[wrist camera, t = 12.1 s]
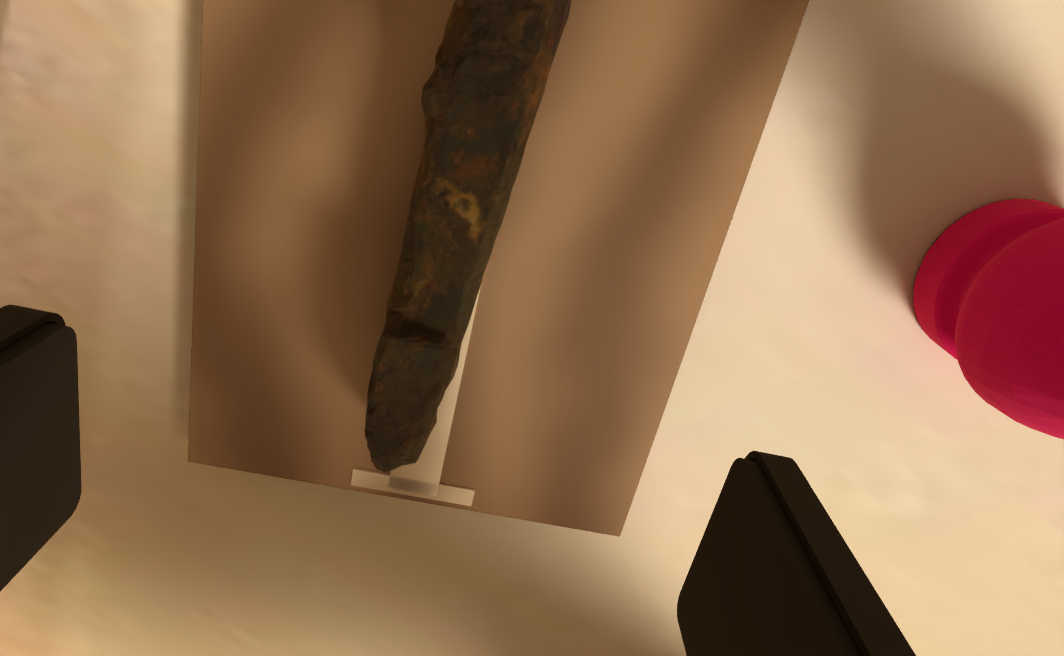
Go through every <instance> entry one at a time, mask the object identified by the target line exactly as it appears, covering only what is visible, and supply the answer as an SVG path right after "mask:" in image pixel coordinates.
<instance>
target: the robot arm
mask: <svg viewBox="0 0 1064 656" xmlns="http://www.w3.org/2000/svg"><path fill="white" fill-rule="evenodd" d="M80 495H81V461H80V430H79V398H78V366H77V339H76V334H75V332H74V330H73V329H72V328H71V327H67V326H66V325H65V322H64V320H63V318H62V317H61V316H60V315H59V314H56V313H51V312H46V311H41V310H36V309H31V308H26V307H21V306H15V305H7V306H4V307H2V308H0V591H1V590H2V589H3V588H4V587H5V586H6V585H7V584H8V583H9V582H10V581H11V579H12V578H13V577H14V576H15V575H16V574H17V573H18V572H19V571H20V570H21V569H22V568H23V567H24V566H25V565H26V564H27V562H28V561H29V560H30V559H31V558H32V557H33V556H34V555H35V554H36V553H37V552H38V551H39V550H40V549H41V548H42V547H43V545H44V544H45V543H46V542H47V541H48V540H49V539H50V538H51V537H52V536H53V535H54V534H55V533H56V532H57V531H58V530H59V528H60V527H61V526H62V525H63V524H64V523H65V522H66V521H67V520H68V519H69V518H70V516H71V515H72V514H73V512H74V511H75V509H76V507H77V505H78V502H79V499H80ZM677 618H678V623H679V627H680V631H681V635H682V639H683V643H684V647H685V651H686V655H687V656H916V655H915V653H914V652H913V650H912V649H911V647H910V645H909V644H908V642H907V640H906V639H905V637H904V636H903V634H902V632H901V631H900V629H899V628H898V626H897V624H896V623H895V621H894V620H893V618H892V616H891V615H890V613H889V612H888V610H887V608H886V607H885V605H884V604H883V602H882V600H881V599H880V597H879V595H878V594H877V592H876V591H875V589H874V587H873V586H872V584H871V583H870V581H869V579H868V578H867V576H866V575H865V573H864V571H863V570H862V568H861V567H860V565H859V563H858V562H857V560H856V559H855V557H854V555H853V554H852V552H851V550H850V549H849V547H848V546H847V544H846V542H845V541H844V539H843V538H842V536H841V534H840V533H839V531H838V530H837V528H836V526H835V525H834V523H833V522H832V520H831V518H830V517H829V515H828V514H827V512H826V510H825V509H824V507H823V505H822V504H821V502H820V501H819V499H818V497H817V496H816V494H815V493H814V491H813V489H812V488H811V486H810V485H809V483H808V481H807V480H806V478H805V477H804V475H803V473H802V472H801V470H800V469H799V467H798V465H797V464H796V462H795V461H794V460H793V459H792V458H788V457H783V456H778V455H773V454H768V453H763V452H758V451H752V452H750V453H749V454H748V455H747V456H746V458H745V459H743V458H738V459H736V460H735V461H734V462H733V464H732V466H731V468H730V471H729V473H728V476H727V478H726V481H725V483H724V486H723V488H722V491H721V493H720V496H719V498H718V501H717V503H716V505H715V508H714V510H713V513H712V515H711V518H710V520H709V523H708V525H707V528H706V530H705V533H704V535H703V538H702V540H701V542H700V545H699V547H698V550H697V552H696V555H695V557H694V560H693V562H692V565H691V567H690V570H689V572H688V575H687V577H686V580H685V582H684V584H683V587H682V589H681V592H680V595H679V598H678V604H677Z"/></svg>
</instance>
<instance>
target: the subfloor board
mask: <svg viewBox="0 0 1064 656" xmlns="http://www.w3.org/2000/svg"><path fill="white" fill-rule="evenodd" d="M455 2H456V0H203V19H202V49H201V80H200V110H199V141H198V171H197V202H196V232H195V263H194V293H193V324H192V354H191V385H190V415H189V446H188V461H189V462H195V463H200V464H206V465H212V466H218V467H223V468H229V469H235V470H241V471H246V472H252V473H258V474H264V475H269V476H275V477H281V478H287V479H292V480H298V481H304V482H310V483H315V484H321V485H327V486H333V487H338V488H344V489H350V490H356V491H361V492H367V493H373V494H379V495H384V496H390V497H396V498H401V499H407V500H413V501H419V502H424V503H430V504H436V505H442V506H447V507H453V508H459V509H465V510H470V511H476V512H482V513H488V514H493V515H499V516H505V517H511V518H516V519H522V520H528V521H534V522H539V523H545V524H551V525H557V526H562V527H568V528H574V529H580V530H585V531H591V532H597V533H602V534H608V535H614V536H620V534H621V531H622V528H623V526H624V523H625V520H626V517H627V514H628V511H629V509H630V506H631V503H632V500H633V497H634V494H635V492H636V489H637V486H638V483H639V480H640V478H641V475H642V472H643V469H644V466H645V463H646V461H647V458H648V455H649V452H650V449H651V446H652V444H653V441H654V438H655V435H656V432H657V429H658V427H659V424H660V421H661V418H662V415H663V412H664V410H665V407H666V404H667V401H668V398H669V395H670V393H671V390H672V387H673V384H674V381H675V378H676V376H677V373H678V370H679V367H680V364H681V361H682V359H683V356H684V353H685V350H686V347H687V344H688V342H689V339H690V336H691V333H692V330H693V327H694V325H695V322H696V319H697V316H698V313H699V310H700V308H701V305H702V302H703V299H704V296H705V294H706V291H707V288H708V285H709V282H710V279H711V277H712V274H713V271H714V268H715V265H716V262H717V260H718V257H719V254H720V251H721V248H722V245H723V243H724V240H725V237H726V234H727V231H728V228H729V226H730V223H731V220H732V217H733V214H734V211H735V209H736V206H737V203H738V200H739V197H740V194H741V192H742V189H743V186H744V183H745V180H746V177H747V175H748V172H749V169H750V166H751V163H752V160H753V158H754V155H755V152H756V149H757V146H758V143H759V141H760V138H761V135H762V132H763V129H764V127H765V124H766V121H767V118H768V115H769V112H770V110H771V107H772V104H773V101H774V98H775V95H776V93H777V90H778V87H779V84H780V81H781V78H782V76H783V73H784V70H785V67H786V64H787V61H788V59H789V56H790V53H791V50H792V47H793V44H794V42H795V39H796V36H797V33H798V30H799V27H800V25H801V22H802V19H803V16H804V13H805V10H806V8H807V5H808V2H809V0H571V6H570V11H569V17H568V20H567V23H566V25H565V28H564V31H563V33H562V36H561V39H560V42H559V45H558V48H557V52H556V55H555V58H554V60H553V63H552V65H551V69H550V72H549V75H548V79H547V83H546V87H545V91H544V94H543V97H542V100H541V102H540V105H539V108H538V111H537V114H536V117H535V120H534V123H533V126H532V129H531V132H530V135H529V138H528V140H527V143H526V147H525V151H524V155H523V159H522V162H521V165H520V169H519V172H518V175H517V178H516V180H515V183H514V185H513V188H512V192H511V196H510V199H509V203H508V206H507V209H506V212H505V215H504V219H503V221H502V224H501V227H500V230H499V232H498V235H497V237H496V240H495V244H494V247H493V250H492V253H491V256H490V259H489V261H488V264H487V266H486V269H485V272H484V275H483V278H482V283H481V286H480V289H479V292H478V295H477V298H476V301H475V305H474V308H473V312H472V315H471V318H470V321H469V324H468V327H467V330H466V332H465V335H464V338H463V341H462V344H461V349H460V356H459V363H458V366H457V369H456V372H455V375H454V378H453V379H452V381H451V383H450V384H449V386H448V388H447V389H446V391H445V394H444V397H443V399H442V401H441V403H440V405H439V407H438V410H437V423H436V424H435V426H434V428H433V430H432V432H431V433H430V435H429V438H428V440H427V442H426V445H425V447H424V449H423V451H422V453H421V455H420V457H419V458H418V460H417V462H416V463H412V464H408V465H403V466H400V467H398V468H396V469H394V470H391V471H389V472H383V471H381V470H377V469H376V467H375V466H374V464H373V463H372V461H371V457H370V451H369V449H368V448H367V440H366V438H365V420H366V410H367V392H368V386H369V381H370V376H371V372H372V368H373V360H374V356H375V351H376V348H377V345H378V342H379V340H380V337H381V334H382V332H383V329H384V326H385V322H386V314H387V302H388V299H389V295H390V291H391V287H392V284H393V282H394V278H395V274H396V270H397V266H398V262H399V258H400V253H401V248H402V243H403V239H404V234H405V229H406V224H407V219H408V214H409V208H410V202H411V197H412V193H413V189H414V185H415V181H416V177H417V173H418V168H419V165H420V161H421V157H422V152H423V147H424V142H425V115H424V112H423V107H422V102H421V99H422V90H423V86H424V85H425V83H426V82H427V81H428V79H429V78H430V76H431V74H432V73H433V71H434V69H435V57H436V53H437V50H438V47H439V46H440V45H441V43H442V41H443V37H444V32H445V27H446V24H447V21H448V19H449V16H450V13H451V11H452V8H453V4H454V3H455Z"/></svg>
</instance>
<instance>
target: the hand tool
mask: <svg viewBox="0 0 1064 656" xmlns="http://www.w3.org/2000/svg"><path fill="white" fill-rule="evenodd" d="M570 6H571V0H456V2H455V3H454V4H453V8H452V11H451V13H450V16H449V19H448V21H447V24H446V27H445V32H444V37H443V41H442V43H441V45H440V46H439V47H438V50H437V53H436V57H435V69H434V71H433V73H432V74H431V76H430V78H429V79H428V81H427V82H426V83H425V85H424V86H423V90H422V99H421V102H422V107H423V112H424V115H425V142H424V147H423V152H422V157H421V161H420V165H419V168H418V173H417V177H416V181H415V185H414V189H413V193H412V197H411V202H410V208H409V214H408V219H407V224H406V229H405V234H404V239H403V243H402V248H401V253H400V258H399V262H398V266H397V270H396V274H395V278H394V282H393V284H392V287H391V291H390V295H389V299H388V302H387V314H386V322H385V326H384V329H383V332H382V334H381V337H380V340H379V342H378V345H377V348H376V351H375V356H374V360H373V368H372V372H371V376H370V381H369V386H368V392H367V410H366V420H365V438H366V440H367V448H368V449H369V451H370V457H371V461H372V463H373V464H374V466H375V467H376V469H377V470H381V471H383V472H389V471H391V470H394V469H396V468H398V467H400V466H403V465H408V464H412V463H416V462H417V460H418V458H419V457H420V455H421V453H422V451H423V449H424V447H425V445H426V442H427V440H428V438H429V435H430V433H431V432H432V430H433V428H434V426H435V424H436V423H437V410H438V407H439V405H440V403H441V401H442V399H443V397H444V394H445V391H446V389H447V388H448V386H449V384H450V383H451V381H452V379H453V378H454V375H455V372H456V369H457V366H458V363H459V356H460V349H461V344H462V341H463V338H464V335H465V332H466V330H467V327H468V324H469V321H470V318H471V315H472V312H473V308H474V305H475V301H476V298H477V295H478V292H479V289H480V286H481V283H482V278H483V275H484V272H485V269H486V266H487V264H488V261H489V259H490V256H491V253H492V250H493V247H494V244H495V240H496V237H497V235H498V232H499V230H500V227H501V224H502V221H503V219H504V215H505V212H506V209H507V206H508V203H509V199H510V196H511V192H512V188H513V185H514V183H515V180H516V178H517V175H518V172H519V169H520V165H521V162H522V159H523V155H524V151H525V147H526V143H527V140H528V138H529V135H530V132H531V129H532V126H533V123H534V120H535V117H536V114H537V111H538V108H539V105H540V102H541V100H542V97H543V94H544V91H545V87H546V83H547V79H548V75H549V72H550V69H551V65H552V63H553V60H554V58H555V55H556V52H557V48H558V45H559V42H560V39H561V36H562V33H563V31H564V28H565V25H566V23H567V20H568V17H569V11H570Z"/></svg>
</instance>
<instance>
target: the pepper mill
mask: <svg viewBox="0 0 1064 656" xmlns="http://www.w3.org/2000/svg"><path fill="white" fill-rule="evenodd" d="M914 309H915V314H916V316H917V319H918V321H919V323H920V326H921V328H922V329H923V331H924V332H925V333H926V334H927V335H928V336H929V338H930V339H931V340H933V341H934V342H935V343H936V344H938V345H939V346H940V347H941V348H943V349H944V350H945V351H947V352H948V353H949V354H950V355H952V356H953V357H954V358H955V359H957V360H958V363H959V365H960V368H961V370H962V372H963V375H964V377H965V379H966V380H967V381H968V383H969V384H970V386H971V387H972V388H973V390H974V391H975V392H976V393H977V394H978V395H979V396H980V397H981V398H982V399H983V400H984V401H986V402H987V403H988V404H990V405H991V406H993V407H994V408H996V409H998V410H999V411H1001V412H1002V413H1004V414H1005V415H1007V416H1008V417H1010V418H1011V419H1013V420H1014V421H1016V422H1019V423H1021V424H1023V425H1025V426H1027V427H1029V428H1032V429H1035V430H1037V431H1040V432H1043V433H1046V434H1048V435H1051V436H1054V437H1058V438H1061V439H1064V209H1063V208H1060V207H1058V206H1055V205H1052V204H1049V203H1046V202H1042V201H1038V200H1034V199H1011V200H1004V201H998V202H995V203H991V204H988V205H985V206H983V207H980V208H978V209H976V210H974V211H972V212H970V213H968V214H966V215H965V216H964V217H962V218H961V219H960V220H958V221H957V222H955V223H954V224H953V225H951V226H950V227H949V228H947V229H946V230H945V231H944V232H943V234H942V235H941V236H940V237H939V238H938V239H937V241H936V242H935V243H934V244H933V245H932V247H931V248H930V249H929V250H928V252H927V254H926V256H925V258H924V260H923V262H922V264H921V266H920V268H919V271H918V274H917V277H916V280H915V284H914Z"/></svg>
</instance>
